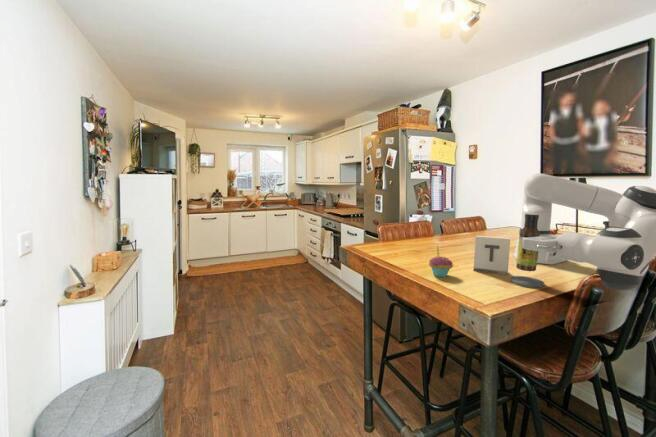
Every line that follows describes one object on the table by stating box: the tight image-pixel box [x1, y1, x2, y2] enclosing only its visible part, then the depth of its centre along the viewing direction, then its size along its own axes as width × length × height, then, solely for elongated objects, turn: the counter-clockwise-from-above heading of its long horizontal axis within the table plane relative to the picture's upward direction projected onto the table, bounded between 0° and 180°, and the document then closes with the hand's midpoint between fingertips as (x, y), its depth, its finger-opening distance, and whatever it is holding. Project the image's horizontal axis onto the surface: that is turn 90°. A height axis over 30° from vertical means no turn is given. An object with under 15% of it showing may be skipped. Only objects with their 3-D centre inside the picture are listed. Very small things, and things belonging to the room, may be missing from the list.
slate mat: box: [510, 275, 545, 289], centre depth 113 cm, size 10×10×1 cm
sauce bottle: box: [515, 213, 540, 272], centre depth 112 cm, size 6×6×20 cm
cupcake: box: [428, 244, 454, 278], centre depth 122 cm, size 9×8×12 cm
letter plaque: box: [473, 235, 511, 275], centre depth 127 cm, size 12×4×14 cm, turn 64°
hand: (528, 238), depth 112 cm, fingers closed on sauce bottle, 6 cm apart
